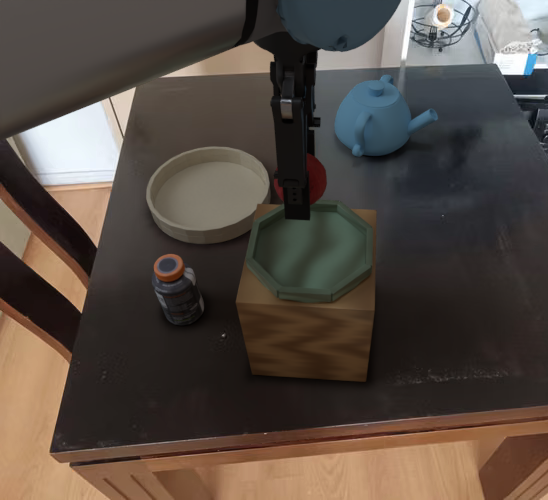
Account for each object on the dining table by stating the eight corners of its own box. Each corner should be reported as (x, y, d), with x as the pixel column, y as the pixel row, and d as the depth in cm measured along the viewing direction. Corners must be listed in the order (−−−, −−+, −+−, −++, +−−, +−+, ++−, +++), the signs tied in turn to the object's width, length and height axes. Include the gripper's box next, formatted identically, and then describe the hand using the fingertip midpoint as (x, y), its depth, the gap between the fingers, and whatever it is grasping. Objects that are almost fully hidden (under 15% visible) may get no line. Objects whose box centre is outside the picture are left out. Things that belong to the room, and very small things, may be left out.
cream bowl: (136, 240, 91) (130, 226, 88) (169, 157, 105) (164, 143, 102) (261, 247, 90) (259, 233, 88) (277, 163, 104) (276, 149, 101)
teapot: (353, 103, 117) (355, 49, 107) (442, 125, 112) (453, 70, 103) (318, 158, 105) (317, 104, 95) (417, 185, 101) (427, 130, 91)
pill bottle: (210, 297, 84) (196, 251, 75) (196, 329, 80) (181, 284, 71) (173, 291, 84) (156, 244, 76) (159, 323, 81) (138, 277, 72)
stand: (252, 374, 75) (233, 292, 60) (268, 283, 86) (255, 193, 70) (365, 382, 75) (376, 301, 60) (368, 289, 85) (377, 199, 70)
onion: (316, 228, 59) (315, 173, 53) (268, 215, 61) (262, 161, 54) (333, 193, 63) (334, 138, 57) (287, 182, 64) (283, 127, 58)
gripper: (330, 52, 37) (328, 263, 55) (343, -57, 49) (338, 144, 67) (221, 48, 37) (255, 259, 55) (261, -60, 49) (278, 141, 67)
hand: (300, 195), depth 61 cm, fingers closed on onion, 6 cm apart
